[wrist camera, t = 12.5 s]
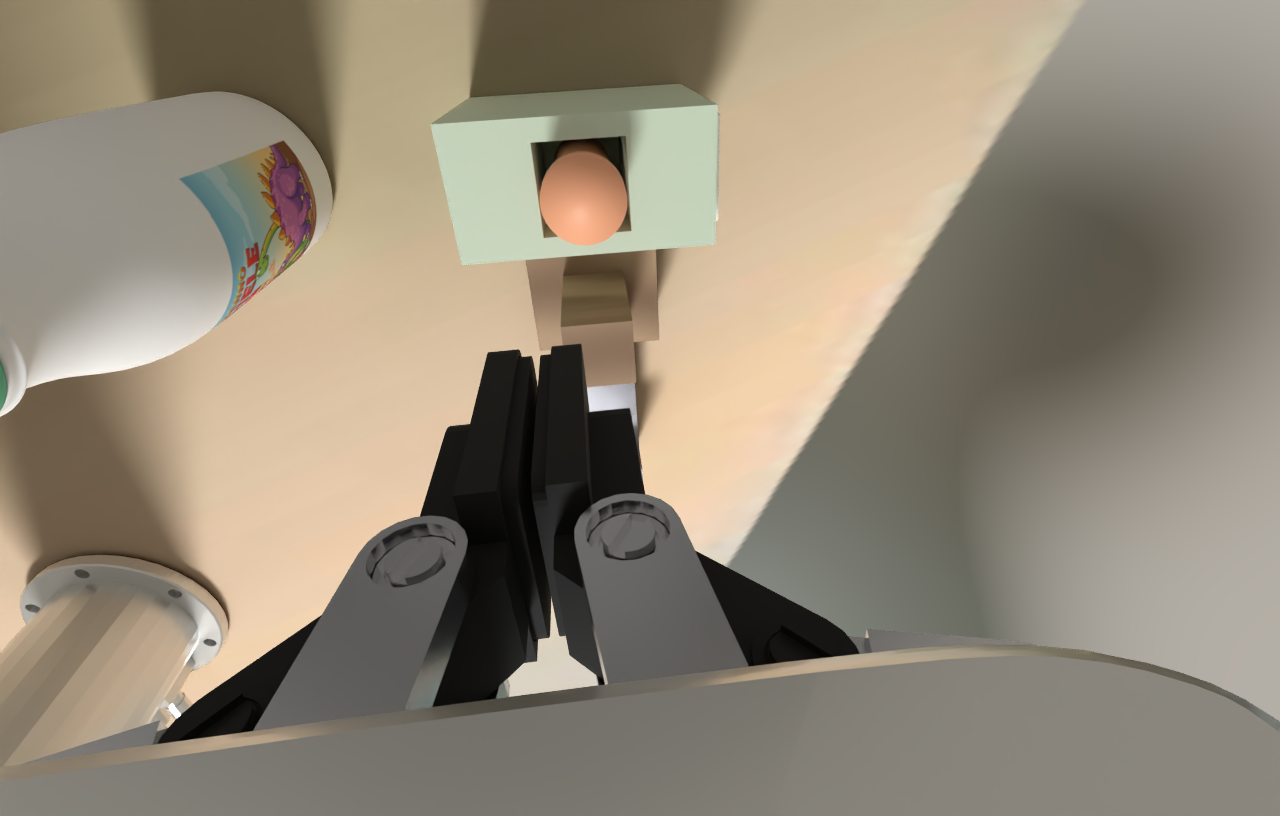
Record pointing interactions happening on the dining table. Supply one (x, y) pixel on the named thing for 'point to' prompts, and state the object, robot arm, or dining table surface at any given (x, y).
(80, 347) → the milk bottle
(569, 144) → the gauge plunger
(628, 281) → the carriage
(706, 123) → the cabinet
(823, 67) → the dining table surface
